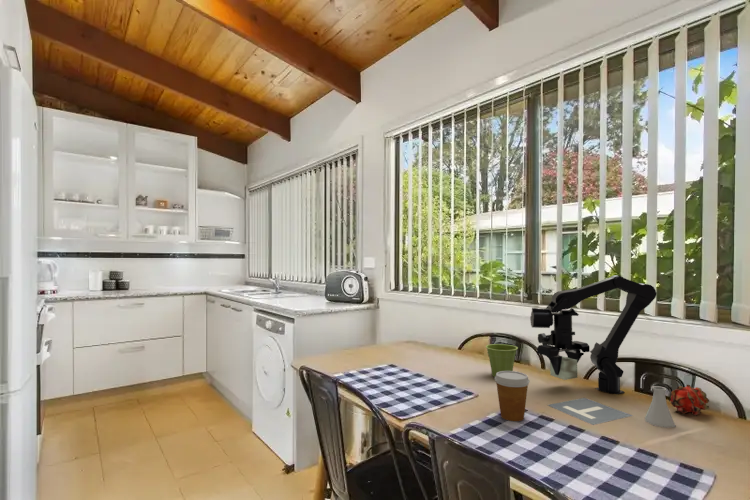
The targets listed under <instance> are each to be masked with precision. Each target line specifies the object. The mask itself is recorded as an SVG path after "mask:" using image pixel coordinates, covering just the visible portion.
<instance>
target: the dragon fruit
mask: <svg viewBox="0 0 750 500" xmlns="http://www.w3.org/2000/svg"><path fill="white" fill-rule="evenodd" d="M707 396H708V395H707V393H706V392H704V391H703V390H702V388H701V387H698V386H696V387H694V388H693V387H692V385H690V384H686V386H682V385H679V386H677V387H676V389H674V390H672V391H671V392H670V397H669V400H668V401H669V402H670V404H671V405H672V407H673V408H676V410H675V413H680V414H686V413H692V414H693V415H694V416H697V415H700V414H701V410H703V411H707V410H709V409H710V405H707V404H708V403H710V399H709V398H708V397H707Z"/></svg>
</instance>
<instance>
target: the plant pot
mask: <svg viewBox="0 0 750 500" xmlns="http://www.w3.org/2000/svg"><path fill="white" fill-rule="evenodd" d="M485 348H486V349H487V350H486V351H487V354H488V358H489V359H488V360H489V363H490V370H491V375H492V377H494V378H495V377H496V373H497V372H500V371H514V364H515V357H516V353H517V350H518V349H519V347H518V346H516V345H510V344H505V343H504V344H500V343H493V344H492V343H491V344H487V345H485Z"/></svg>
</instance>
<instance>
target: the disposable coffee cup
mask: <svg viewBox="0 0 750 500" xmlns="http://www.w3.org/2000/svg"><path fill="white" fill-rule="evenodd" d="M494 381H495V383H496V391H497V398H498V404H499V413H500V417H501V418H502V419H503V420H506V421H509V422H522V421H523V420H525V412H526V405H527V404H526V403H527V396H528V386H529V384H530V383H531V382H530V379H529V376H528V374H527V373H526V374H525V373H523V372H519V371H516V370H515V371H514V370H513V371H500V372H497V373H496V377H494Z"/></svg>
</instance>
